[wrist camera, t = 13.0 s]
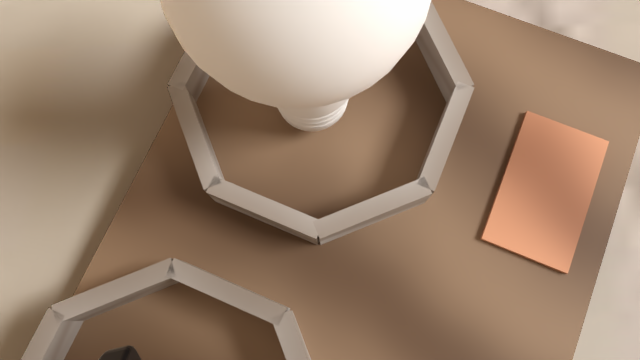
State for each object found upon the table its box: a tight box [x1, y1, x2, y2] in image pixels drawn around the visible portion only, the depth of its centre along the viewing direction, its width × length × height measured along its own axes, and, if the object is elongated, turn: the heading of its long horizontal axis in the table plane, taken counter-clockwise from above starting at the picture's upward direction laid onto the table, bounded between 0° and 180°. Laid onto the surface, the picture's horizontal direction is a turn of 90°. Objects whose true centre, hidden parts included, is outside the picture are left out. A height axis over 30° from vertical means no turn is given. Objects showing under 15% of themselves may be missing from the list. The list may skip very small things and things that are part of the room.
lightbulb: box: [160, 0, 431, 131], centre depth 14 cm, size 6×6×11 cm
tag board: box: [21, 0, 640, 360], centre depth 18 cm, size 24×16×2 cm, turn 157°
